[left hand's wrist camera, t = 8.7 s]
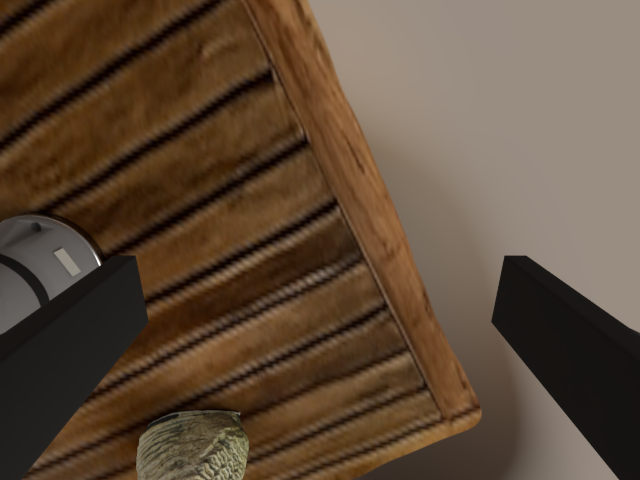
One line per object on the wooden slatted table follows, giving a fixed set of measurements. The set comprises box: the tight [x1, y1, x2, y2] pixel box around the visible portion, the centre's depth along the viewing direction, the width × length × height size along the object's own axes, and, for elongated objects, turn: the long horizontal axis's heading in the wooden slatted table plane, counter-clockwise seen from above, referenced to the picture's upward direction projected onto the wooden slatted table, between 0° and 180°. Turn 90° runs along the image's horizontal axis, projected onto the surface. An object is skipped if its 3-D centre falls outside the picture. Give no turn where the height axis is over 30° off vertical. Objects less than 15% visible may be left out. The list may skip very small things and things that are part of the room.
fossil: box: [136, 410, 249, 480], centre depth 50 cm, size 9×18×15 cm, turn 112°
